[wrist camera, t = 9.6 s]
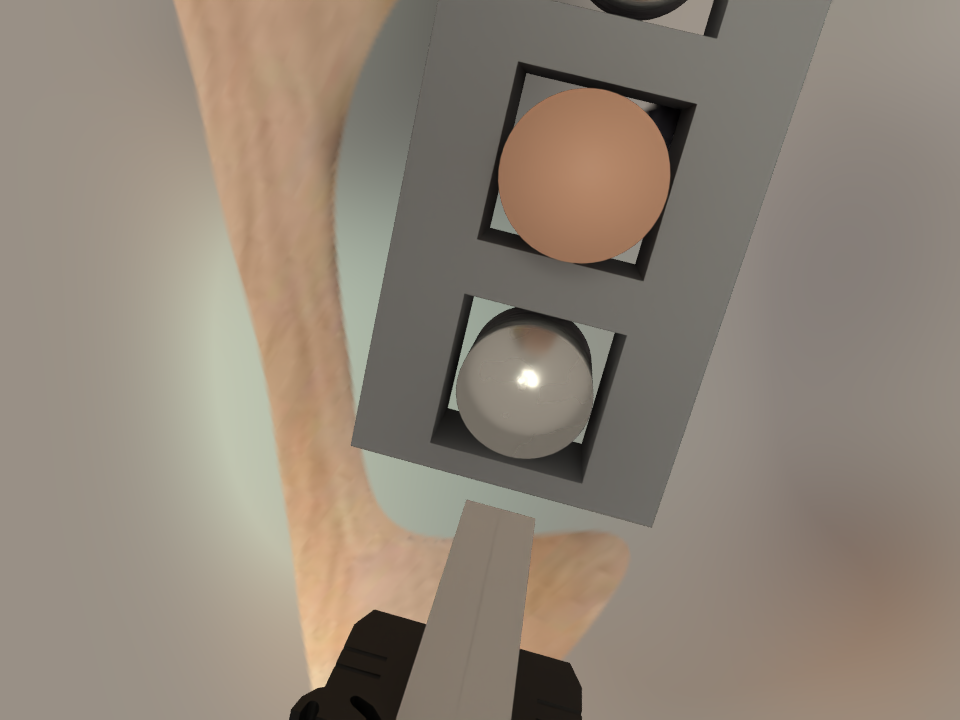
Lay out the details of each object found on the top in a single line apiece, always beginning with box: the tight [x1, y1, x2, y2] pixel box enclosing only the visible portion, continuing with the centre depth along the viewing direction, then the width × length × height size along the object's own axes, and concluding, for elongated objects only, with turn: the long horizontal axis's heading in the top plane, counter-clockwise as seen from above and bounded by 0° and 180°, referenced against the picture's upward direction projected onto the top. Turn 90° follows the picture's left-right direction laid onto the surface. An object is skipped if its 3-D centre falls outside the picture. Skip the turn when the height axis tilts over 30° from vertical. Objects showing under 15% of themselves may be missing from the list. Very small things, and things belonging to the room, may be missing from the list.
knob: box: [456, 307, 593, 459], centre depth 29 cm, size 5×5×4 cm
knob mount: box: [351, 0, 832, 527], centre depth 27 cm, size 24×12×4 cm, turn 166°
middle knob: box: [498, 88, 670, 263], centre depth 24 cm, size 5×5×4 cm
